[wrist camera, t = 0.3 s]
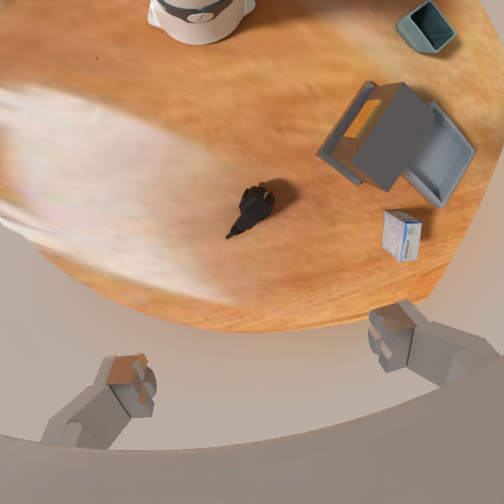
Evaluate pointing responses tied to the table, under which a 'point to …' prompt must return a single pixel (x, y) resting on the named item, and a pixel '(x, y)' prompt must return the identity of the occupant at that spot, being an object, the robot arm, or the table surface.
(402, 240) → the medicine box
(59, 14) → the table surface
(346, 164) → the box
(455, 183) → the tray
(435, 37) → the flower pot
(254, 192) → the power plug
